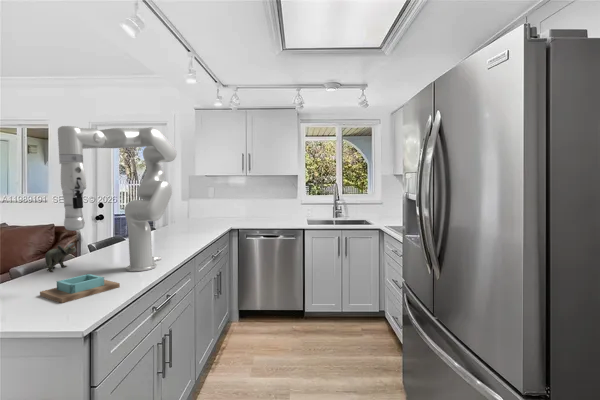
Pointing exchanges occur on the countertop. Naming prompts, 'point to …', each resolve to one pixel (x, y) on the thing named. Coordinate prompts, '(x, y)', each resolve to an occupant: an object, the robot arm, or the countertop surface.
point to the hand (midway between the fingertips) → (73, 207)
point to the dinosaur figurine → (58, 256)
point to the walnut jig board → (78, 288)
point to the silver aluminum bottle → (72, 212)
